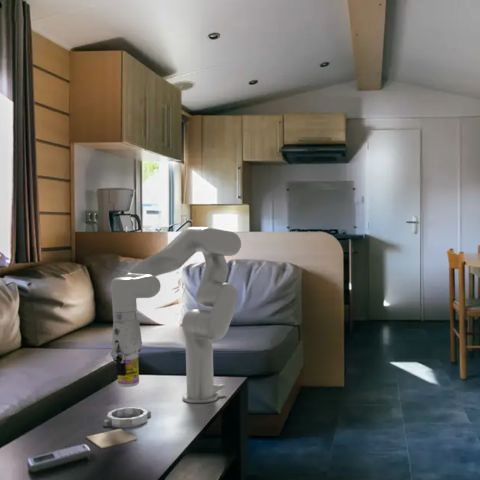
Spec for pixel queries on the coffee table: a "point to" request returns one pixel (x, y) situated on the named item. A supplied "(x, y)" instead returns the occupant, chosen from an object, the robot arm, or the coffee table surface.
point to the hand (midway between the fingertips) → (128, 371)
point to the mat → (111, 438)
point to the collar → (127, 422)
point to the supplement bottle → (130, 371)
